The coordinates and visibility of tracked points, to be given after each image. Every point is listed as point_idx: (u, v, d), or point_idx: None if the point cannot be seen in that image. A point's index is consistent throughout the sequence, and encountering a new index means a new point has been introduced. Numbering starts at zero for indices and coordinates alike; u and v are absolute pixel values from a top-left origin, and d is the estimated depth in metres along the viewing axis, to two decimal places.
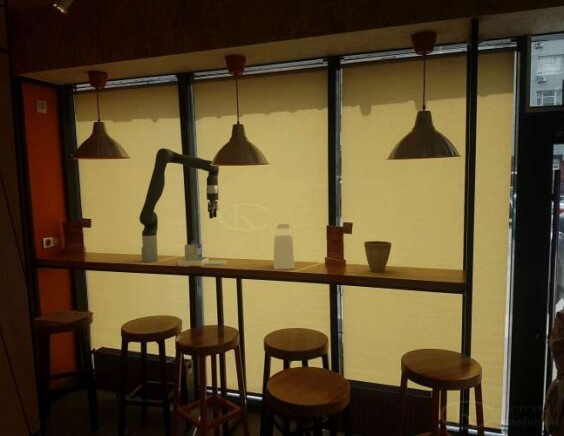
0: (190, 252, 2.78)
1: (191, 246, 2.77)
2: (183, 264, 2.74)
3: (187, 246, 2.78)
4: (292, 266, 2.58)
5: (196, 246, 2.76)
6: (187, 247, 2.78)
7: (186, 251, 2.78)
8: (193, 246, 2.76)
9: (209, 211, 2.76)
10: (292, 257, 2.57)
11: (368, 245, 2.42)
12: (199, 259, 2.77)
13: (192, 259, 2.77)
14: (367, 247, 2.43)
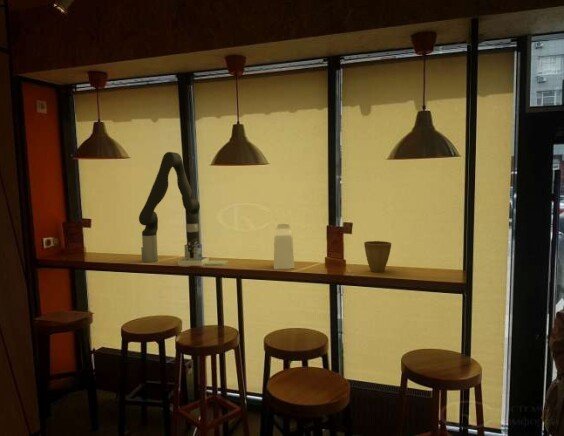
0: None
1: None
2: (183, 264, 2.74)
3: (187, 246, 2.78)
4: (292, 266, 2.58)
5: (196, 246, 2.76)
6: (187, 247, 2.78)
7: (186, 251, 2.78)
8: None
9: (189, 251, 2.74)
10: (292, 257, 2.57)
11: (368, 245, 2.42)
12: (199, 259, 2.77)
13: (192, 259, 2.77)
14: (367, 247, 2.43)
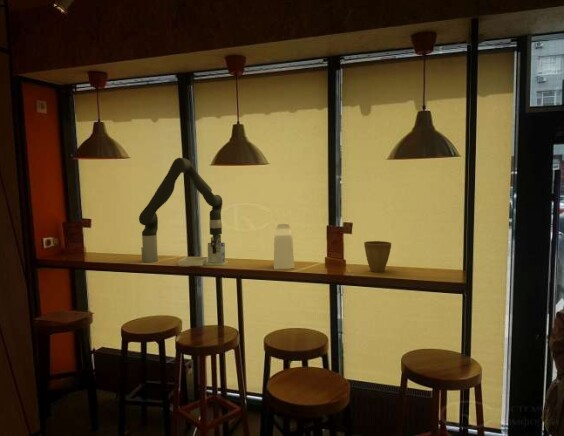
0: None
1: None
2: (183, 264, 2.74)
3: (210, 244, 2.76)
4: (292, 266, 2.58)
5: (220, 244, 2.74)
6: (210, 246, 2.76)
7: (209, 249, 2.77)
8: None
9: (212, 246, 2.71)
10: (292, 257, 2.57)
11: (368, 245, 2.42)
12: (222, 257, 2.76)
13: (215, 257, 2.75)
14: (367, 247, 2.43)
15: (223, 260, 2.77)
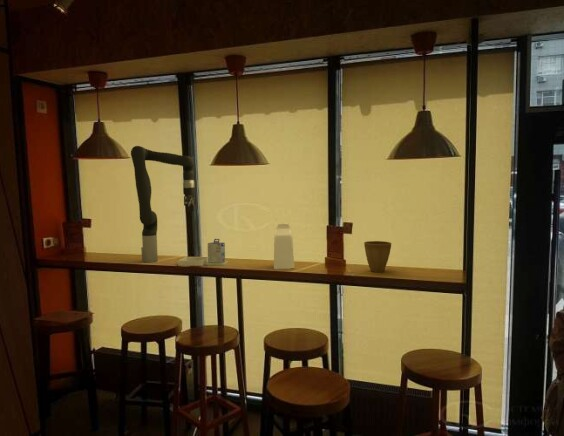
0: (213, 250, 2.76)
1: (214, 244, 2.75)
2: (183, 264, 2.74)
3: (210, 244, 2.76)
4: (292, 266, 2.58)
5: (220, 244, 2.74)
6: (210, 246, 2.76)
7: (209, 249, 2.77)
8: (216, 244, 2.75)
9: (185, 205, 2.84)
10: (292, 257, 2.57)
11: (368, 245, 2.42)
12: (222, 257, 2.76)
13: (215, 257, 2.75)
14: (367, 247, 2.43)
15: (223, 260, 2.77)
